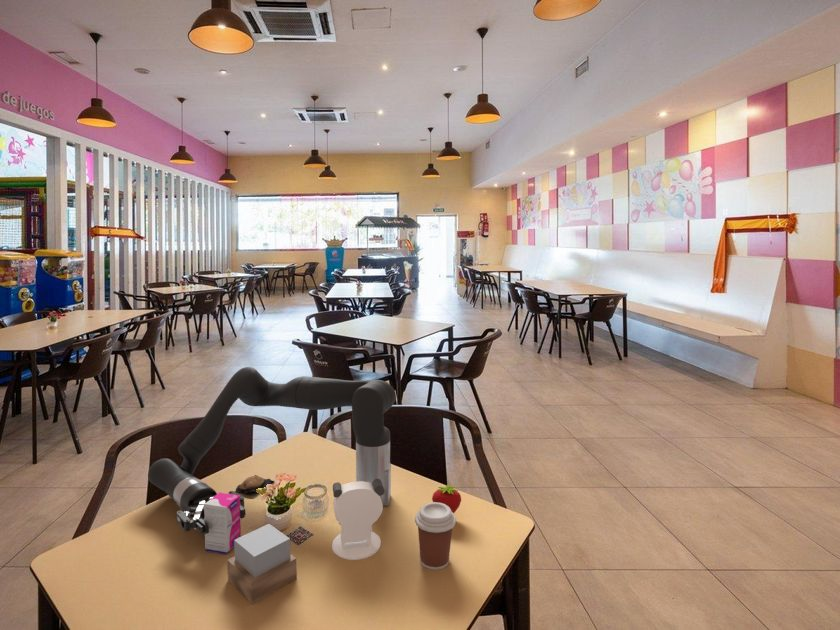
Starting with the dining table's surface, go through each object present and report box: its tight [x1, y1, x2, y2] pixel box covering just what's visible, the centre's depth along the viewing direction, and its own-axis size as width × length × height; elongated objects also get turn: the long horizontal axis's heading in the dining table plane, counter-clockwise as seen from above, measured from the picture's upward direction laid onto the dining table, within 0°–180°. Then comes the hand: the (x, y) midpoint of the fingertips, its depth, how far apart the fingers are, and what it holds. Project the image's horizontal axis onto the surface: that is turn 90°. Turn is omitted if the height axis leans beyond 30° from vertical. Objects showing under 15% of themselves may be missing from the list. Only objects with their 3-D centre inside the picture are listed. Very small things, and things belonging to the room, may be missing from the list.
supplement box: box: [204, 492, 242, 555], centre depth 110 cm, size 6×6×12 cm
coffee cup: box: [414, 501, 457, 571], centre depth 106 cm, size 9×9×12 cm
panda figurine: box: [331, 479, 385, 561], centre depth 111 cm, size 12×11×15 cm
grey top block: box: [233, 523, 291, 578], centre depth 99 cm, size 8×8×4 cm
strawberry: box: [431, 481, 462, 514], centre depth 123 cm, size 6×8×10 cm
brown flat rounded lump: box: [234, 474, 276, 500], centre depth 137 cm, size 11×8×4 cm
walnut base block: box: [226, 553, 298, 605], centre depth 99 cm, size 10×10×5 cm
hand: (225, 521), depth 109 cm, fingers open, 8 cm apart
